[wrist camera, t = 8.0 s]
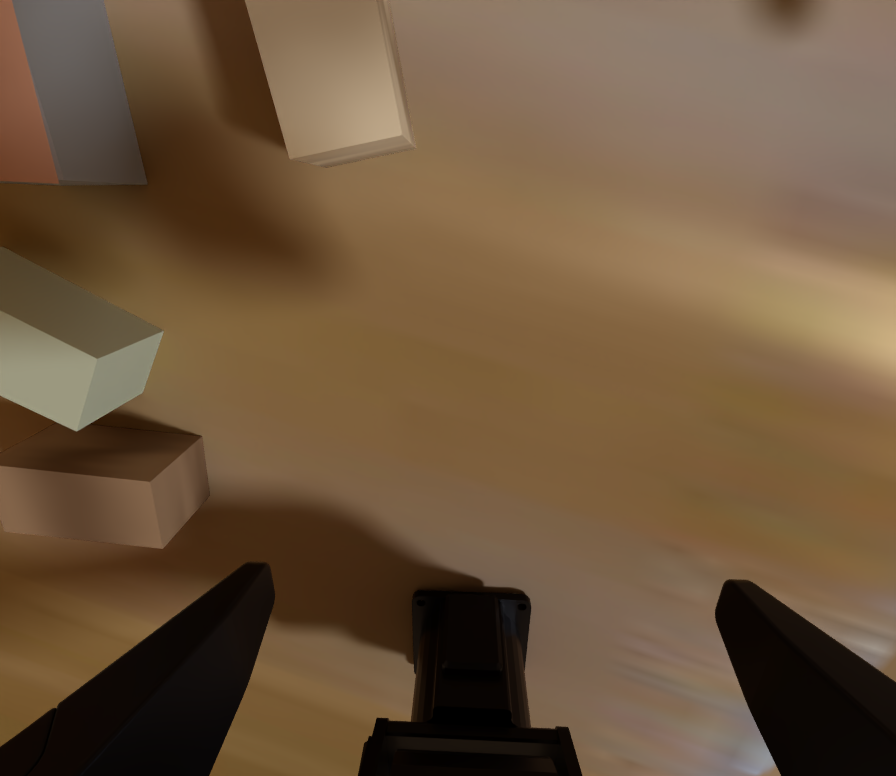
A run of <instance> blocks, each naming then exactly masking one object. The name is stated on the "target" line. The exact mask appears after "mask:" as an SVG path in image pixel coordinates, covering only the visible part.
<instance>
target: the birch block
mask: <svg viewBox="0 0 896 776" xmlns="http://www.w3.org/2000/svg"><path fill="white" fill-rule="evenodd" d="M245 3H246V6H247V10H248V13H249V17H250V20H251V24H252V27H253V31H254V35H255V38H256V42H257V45H258V49H259V52H260V56H261V59H262V63H263V66H264V70H265V74H266V77H267V81H268V84H269V88H270V91H271V95H272V98H273V102H274V106H275V109H276V113H277V116H278V120H279V123H280V127H281V130H282V134H283V137H284V141H285V145H286V148H287V152H288V155H289V159H291V160H295V161H299V162H304V163H308V164H313V165H317V166H321V167H326V168H328V167H332V166H337V165H342V164H347V163H351V162H356V161H361V160H365V159H370V158H375V157H380V156H384V155H389V154H394V153H399V152H403V151H408V150H413V149H416V144H415V139H414V133H413V128H412V123H411V117H410V112H409V106H408V101H407V95H406V90H405V85H404V79H403V74H402V68H401V63H400V58H399V52H398V47H397V41H396V36H395V30H394V25H393V20H392V14H391V9H390V3H389V0H245Z"/></svg>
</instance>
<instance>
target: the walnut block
mask: <svg viewBox="0 0 896 776" xmlns="http://www.w3.org/2000/svg"><path fill="white" fill-rule="evenodd" d="M209 496H210V492H209V485H208V477H207V469H206V462H205V454H204V446H203V439H202V436H195V435H186V434H176V433H167V432H157V431H148V430H138V429H129V428H119V427H110V426H100V425H91V424H89V425H87V426H85V427H84V428H82V429H80V430H78V431H77V432H76V431H74V430H72V429H70V428H68V427H66V426H64V425H62V424H59V423H55V424H53V425H52V426H50V427H48V428H46V429H44V430H42V431H40V432H39V433H37V434H35V435H33V436H31V437H29V438H27V439H25V440H24V441H22V442H20V443H18V444H16V445H14V446H12V447H11V448H9V449H7V450H5V451H3V452H1V453H0V520H1V523H2V526H3V528H4V531H5V532H12V533H21V534H30V535H40V536H49V537H58V538H67V539H77V540H86V541H95V542H104V543H114V544H123V545H132V546H141V547H151V548H160V549H163V548H164V547H165V546H166V545H167V544H168V542H169V541H170V540H171V539H172V538H173V537H174V536H175V535H176V533H177V532H178V531H179V530H180V529H181V528H182V527H183V525H184V524H185V523H186V522H187V521H188V520H189V519H190V518H191V516H192V515H193V514H194V513H195V512H196V511H197V510H198V509H199V507H200V506H201V505H202V504H203V503H204V502H205V501H206V499H207V498H208V497H209Z"/></svg>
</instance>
